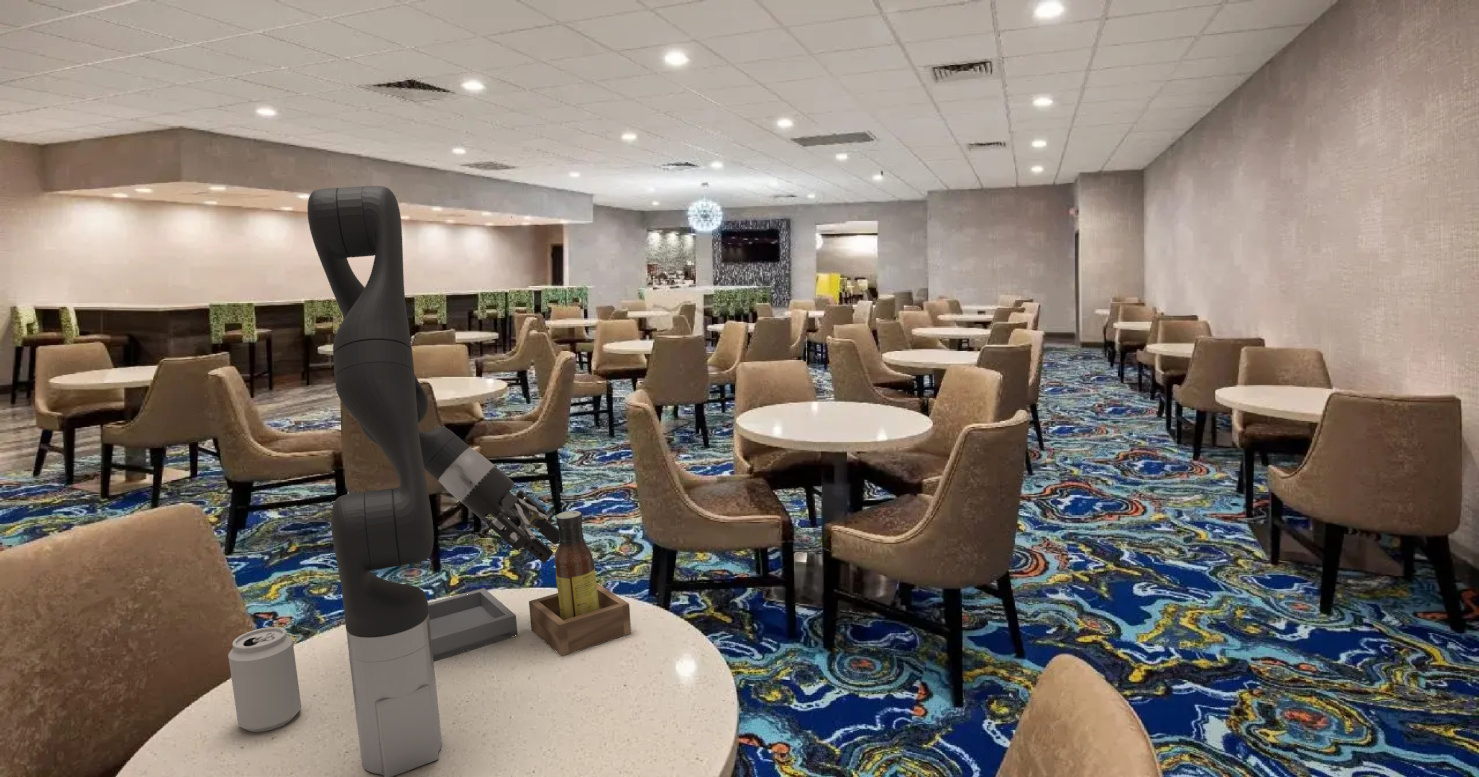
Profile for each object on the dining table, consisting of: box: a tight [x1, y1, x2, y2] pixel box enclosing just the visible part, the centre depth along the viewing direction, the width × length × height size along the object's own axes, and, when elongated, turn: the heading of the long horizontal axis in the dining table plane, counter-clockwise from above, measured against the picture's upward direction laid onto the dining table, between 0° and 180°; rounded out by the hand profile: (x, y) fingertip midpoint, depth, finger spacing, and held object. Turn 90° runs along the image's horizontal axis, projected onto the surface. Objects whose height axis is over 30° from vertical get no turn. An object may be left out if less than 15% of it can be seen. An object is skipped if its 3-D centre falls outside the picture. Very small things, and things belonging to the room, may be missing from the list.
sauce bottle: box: [554, 510, 599, 620], centre depth 132 cm, size 6×6×20 cm
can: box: [227, 626, 302, 733], centre depth 110 cm, size 8×8×12 cm
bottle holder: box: [528, 582, 632, 657], centre depth 133 cm, size 12×12×5 cm
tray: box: [428, 587, 519, 662], centre depth 135 cm, size 15×15×4 cm
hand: (554, 548), depth 132 cm, fingers open, 8 cm apart
